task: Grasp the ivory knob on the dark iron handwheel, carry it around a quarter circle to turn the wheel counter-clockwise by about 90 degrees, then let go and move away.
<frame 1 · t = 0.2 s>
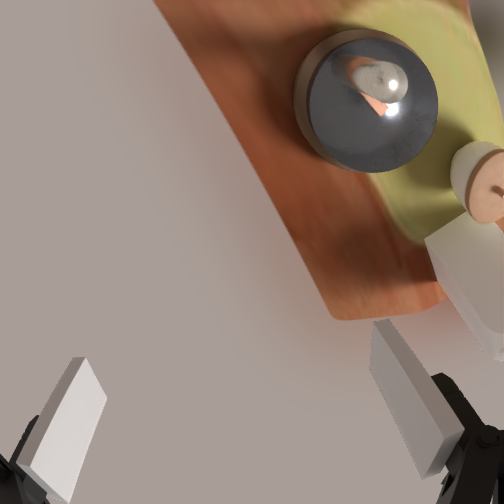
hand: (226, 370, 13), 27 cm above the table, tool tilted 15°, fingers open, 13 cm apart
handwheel: (396, 116, 26), point 8 cm above the table, hinge at 0.0°
wheel base: (364, 99, 32), on the table
milk: (456, 244, 46), on the table
lidded jar: (465, 163, 37), on the table
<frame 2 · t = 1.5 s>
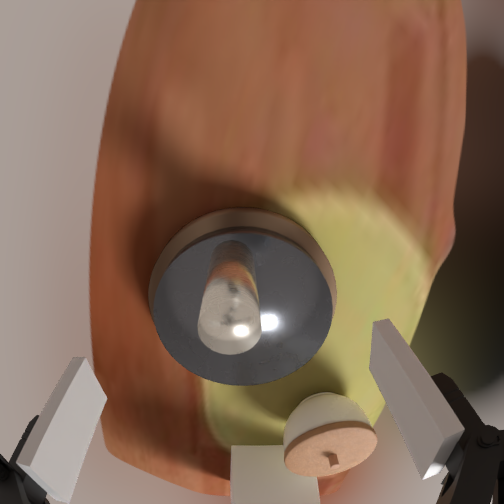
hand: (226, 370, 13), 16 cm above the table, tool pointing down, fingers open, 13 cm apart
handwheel: (244, 347, 23), point 8 cm above the table, hinge at 0.0°
wheel base: (242, 296, 30), on the table
milk: (267, 463, 41), on the table
lidded jar: (319, 406, 37), on the table
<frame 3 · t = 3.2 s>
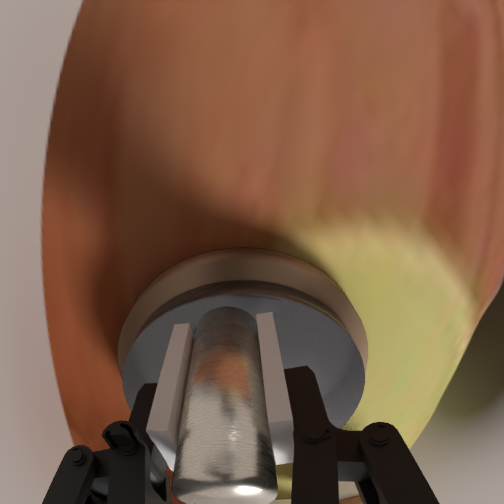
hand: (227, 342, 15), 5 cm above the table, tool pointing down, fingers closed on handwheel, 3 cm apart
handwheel: (246, 449, 15), point 8 cm above the table, hinge at 0.0°, touching gripper
wheel base: (242, 361, 22), on the table
lidded jar: (332, 465, 28), on the table
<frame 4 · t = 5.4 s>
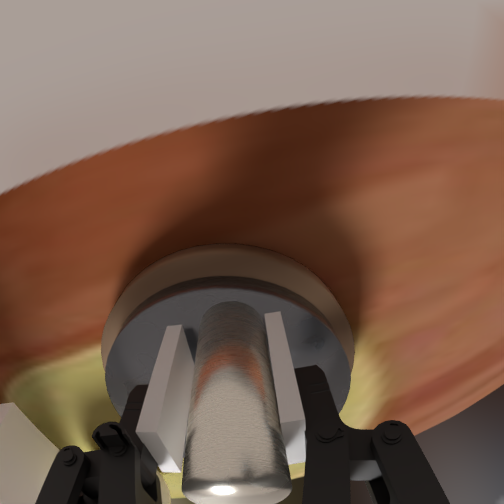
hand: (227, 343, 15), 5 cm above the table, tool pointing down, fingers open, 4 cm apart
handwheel: (228, 448, 14), point 8 cm above the table, hinge at 53.1°, touching gripper
wheel base: (227, 358, 22), on the table
milk: (19, 437, 26), on the table
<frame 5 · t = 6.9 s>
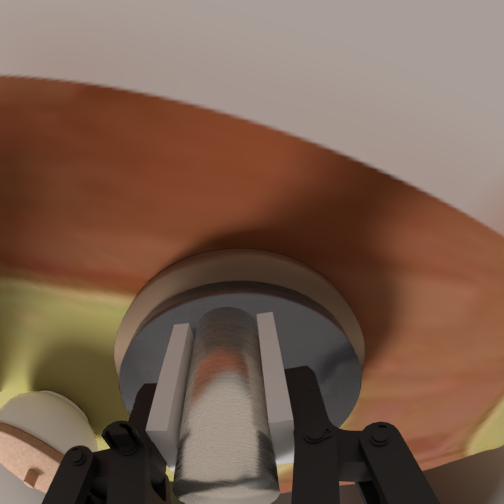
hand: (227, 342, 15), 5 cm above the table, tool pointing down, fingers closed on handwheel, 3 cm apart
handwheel: (242, 450, 14), point 8 cm above the table, hinge at 92.7°, touching gripper
wheel base: (239, 361, 22), on the table
lidded jar: (61, 410, 24), on the table
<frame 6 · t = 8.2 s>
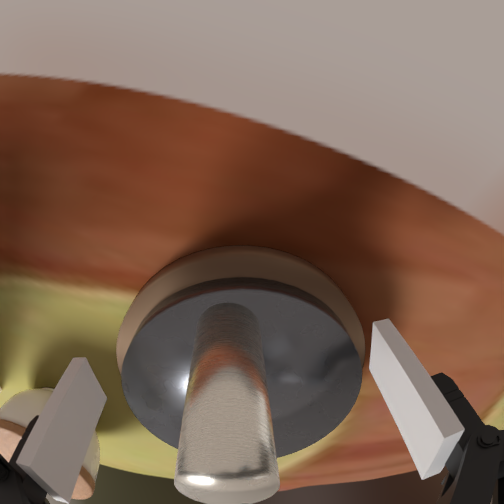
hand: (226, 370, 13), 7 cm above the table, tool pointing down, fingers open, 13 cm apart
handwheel: (244, 445, 15), point 8 cm above the table, hinge at 93.4°
wheel base: (240, 358, 22), on the table
lidded jar: (63, 408, 24), on the table
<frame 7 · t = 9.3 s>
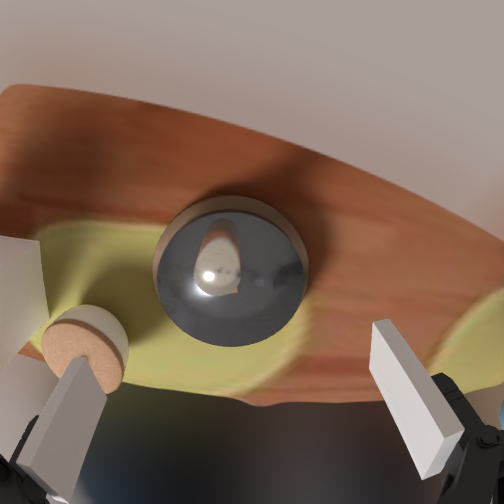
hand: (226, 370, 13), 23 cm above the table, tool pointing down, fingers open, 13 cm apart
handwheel: (229, 304, 29), point 8 cm above the table, hinge at 93.4°
wheel base: (230, 269, 36), on the table
milk: (12, 275, 35), on the table
lidded jar: (101, 325, 38), on the table
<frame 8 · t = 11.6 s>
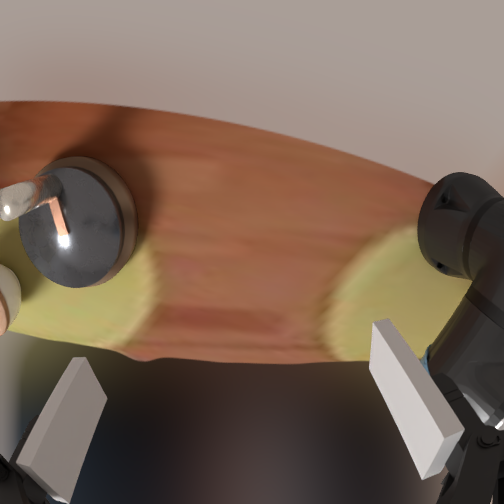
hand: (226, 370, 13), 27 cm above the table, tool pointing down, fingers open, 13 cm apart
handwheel: (49, 240, 30), point 8 cm above the table, hinge at 93.4°
wheel base: (79, 221, 37), on the table
lidded jar: (8, 283, 40), on the table
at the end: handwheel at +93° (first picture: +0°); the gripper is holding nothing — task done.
